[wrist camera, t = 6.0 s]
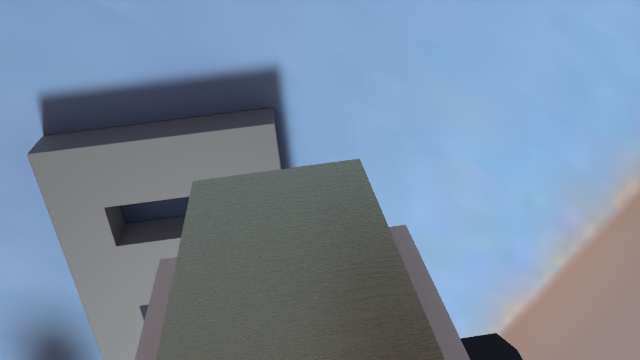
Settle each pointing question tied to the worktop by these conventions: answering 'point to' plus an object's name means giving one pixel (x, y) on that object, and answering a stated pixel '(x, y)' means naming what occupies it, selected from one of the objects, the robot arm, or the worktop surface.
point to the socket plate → (130, 188)
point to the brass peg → (292, 273)
